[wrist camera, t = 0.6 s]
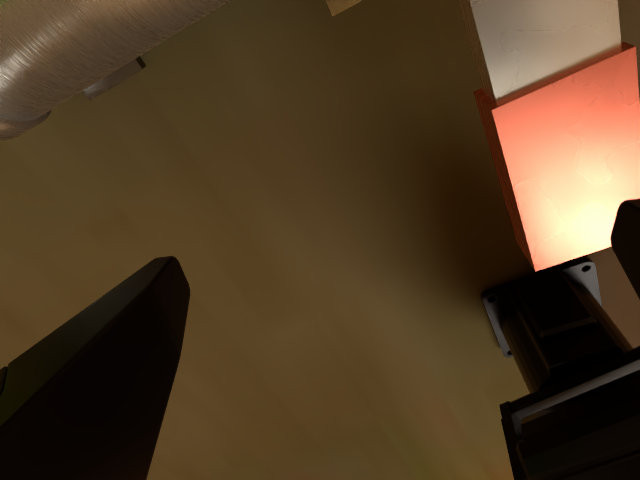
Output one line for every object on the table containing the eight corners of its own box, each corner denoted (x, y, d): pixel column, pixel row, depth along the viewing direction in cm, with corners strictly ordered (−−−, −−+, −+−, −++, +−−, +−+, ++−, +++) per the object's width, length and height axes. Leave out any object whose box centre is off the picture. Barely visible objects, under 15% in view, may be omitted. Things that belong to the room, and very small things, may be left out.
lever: (328, -388, 7) (329, -457, 6) (539, -564, 7) (595, -689, 5) (514, 244, 15) (532, 272, 14) (622, 206, 14) (652, 232, 13)
